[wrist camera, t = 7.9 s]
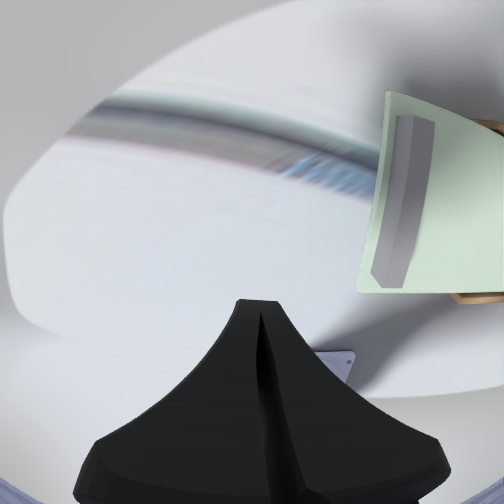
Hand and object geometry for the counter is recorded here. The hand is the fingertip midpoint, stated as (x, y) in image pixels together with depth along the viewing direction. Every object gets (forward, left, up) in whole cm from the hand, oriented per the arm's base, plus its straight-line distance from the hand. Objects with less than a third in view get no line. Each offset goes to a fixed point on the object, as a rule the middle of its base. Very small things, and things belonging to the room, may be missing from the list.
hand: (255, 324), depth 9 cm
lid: (+4, -12, -5) cm, 14 cm away
